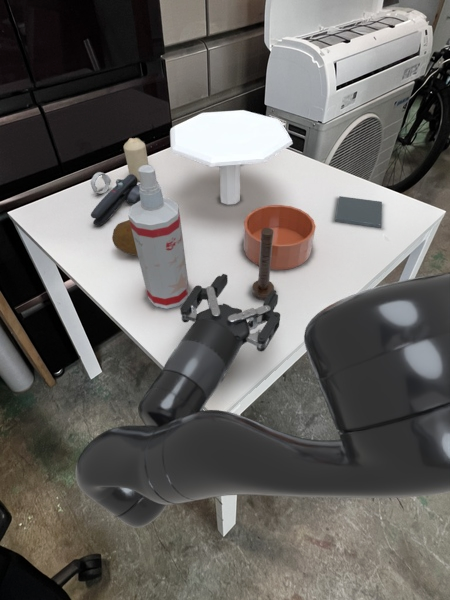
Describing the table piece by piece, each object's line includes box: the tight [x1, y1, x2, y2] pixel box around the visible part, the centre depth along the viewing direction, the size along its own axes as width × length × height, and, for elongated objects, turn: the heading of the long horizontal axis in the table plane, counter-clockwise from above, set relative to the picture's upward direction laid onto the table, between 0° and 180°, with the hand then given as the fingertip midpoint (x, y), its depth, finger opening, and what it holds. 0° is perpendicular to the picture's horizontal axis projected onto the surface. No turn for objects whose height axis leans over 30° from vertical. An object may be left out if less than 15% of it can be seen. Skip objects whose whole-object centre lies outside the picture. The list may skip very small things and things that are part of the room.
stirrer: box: [251, 228, 275, 301], centre depth 65 cm, size 4×4×14 cm
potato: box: [111, 219, 138, 256], centre depth 77 cm, size 8×12×8 cm, turn 100°
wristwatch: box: [90, 171, 112, 195], centre depth 95 cm, size 3×5×5 cm, turn 149°
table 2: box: [169, 109, 294, 206], centre depth 87 cm, size 28×28×17 cm
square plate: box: [334, 195, 383, 229], centre depth 87 cm, size 10×10×1 cm
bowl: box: [243, 204, 317, 271], centre depth 77 cm, size 14×14×6 cm
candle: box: [123, 137, 150, 182], centre depth 98 cm, size 6×6×10 cm
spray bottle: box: [127, 164, 190, 310], centre depth 61 cm, size 8×8×25 cm
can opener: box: [90, 174, 141, 227], centre depth 89 cm, size 18×7×6 cm, turn 153°
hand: (249, 285), depth 60 cm, fingers open, 8 cm apart
